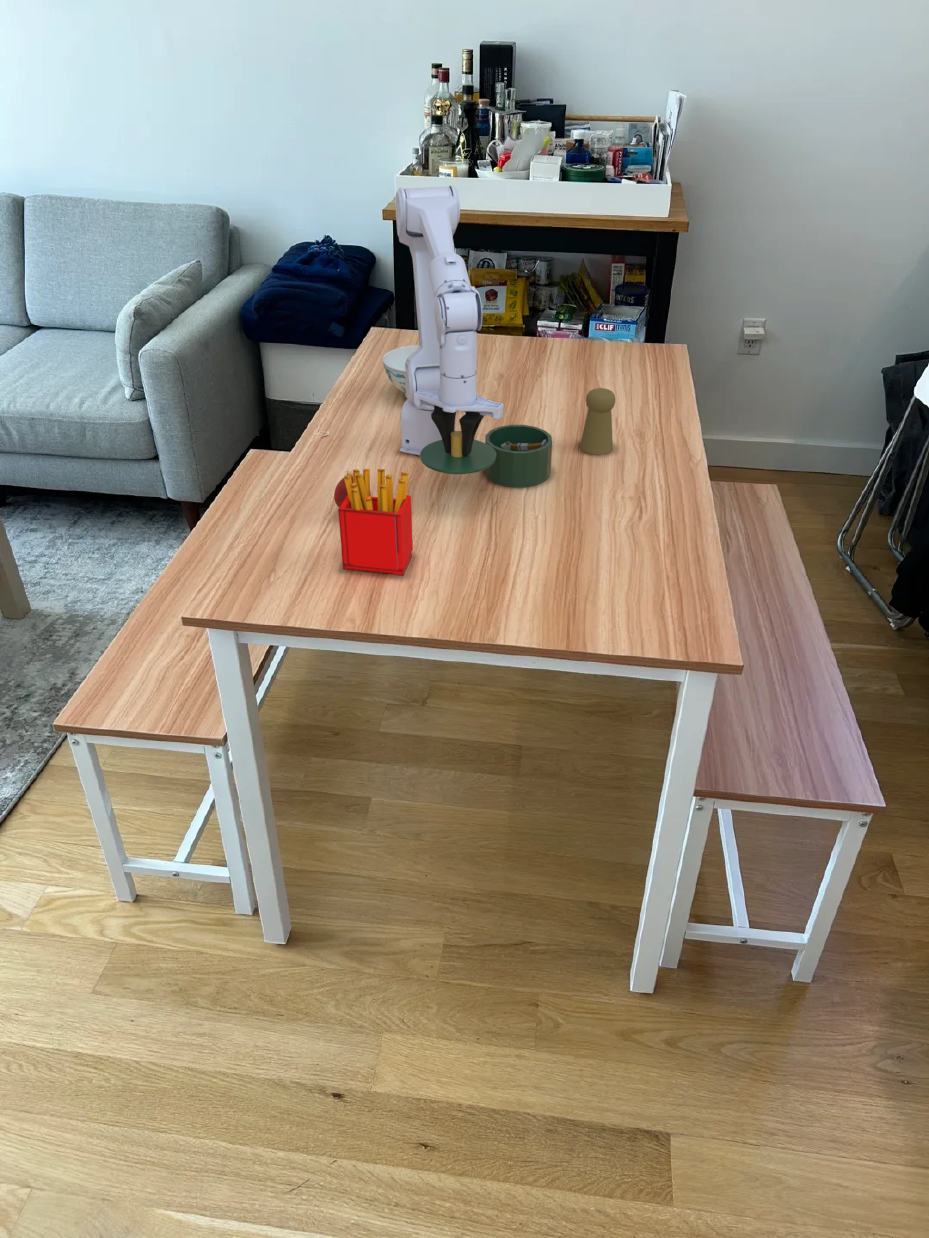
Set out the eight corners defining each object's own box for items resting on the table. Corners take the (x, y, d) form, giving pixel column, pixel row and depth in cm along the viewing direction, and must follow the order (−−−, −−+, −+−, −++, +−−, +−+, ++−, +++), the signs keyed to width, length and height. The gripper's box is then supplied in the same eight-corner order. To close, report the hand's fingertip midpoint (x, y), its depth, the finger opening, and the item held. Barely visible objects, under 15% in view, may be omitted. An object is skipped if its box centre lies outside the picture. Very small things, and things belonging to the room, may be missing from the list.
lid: (407, 469, 154) (406, 442, 151) (438, 439, 163) (438, 413, 161) (479, 483, 150) (479, 456, 147) (507, 451, 159) (508, 425, 157)
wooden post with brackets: (505, 463, 169) (501, 439, 167) (549, 462, 167) (545, 438, 164) (502, 467, 168) (498, 444, 166) (546, 466, 165) (543, 442, 163)
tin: (474, 480, 166) (475, 445, 162) (498, 453, 174) (499, 420, 171) (537, 492, 162) (539, 457, 159) (558, 464, 171) (560, 431, 167)
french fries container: (355, 547, 148) (349, 464, 140) (413, 553, 146) (411, 469, 138) (342, 571, 142) (335, 486, 134) (402, 577, 141) (399, 492, 132)
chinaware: (471, 390, 198) (471, 354, 194) (430, 415, 188) (430, 377, 183) (412, 376, 205) (410, 340, 200) (369, 399, 194) (367, 362, 190)
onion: (377, 510, 157) (375, 466, 152) (363, 527, 152) (360, 482, 148) (345, 505, 158) (341, 461, 154) (330, 521, 154) (325, 476, 149)
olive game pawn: (611, 456, 174) (617, 398, 167) (578, 453, 175) (582, 396, 168) (614, 442, 179) (619, 385, 172) (581, 439, 180) (586, 383, 173)
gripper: (404, 373, 147) (407, 454, 155) (492, 388, 143) (490, 470, 151) (423, 358, 153) (425, 437, 160) (509, 371, 148) (506, 452, 156)
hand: (458, 452), depth 156 cm, fingers closed on lid, 2 cm apart
